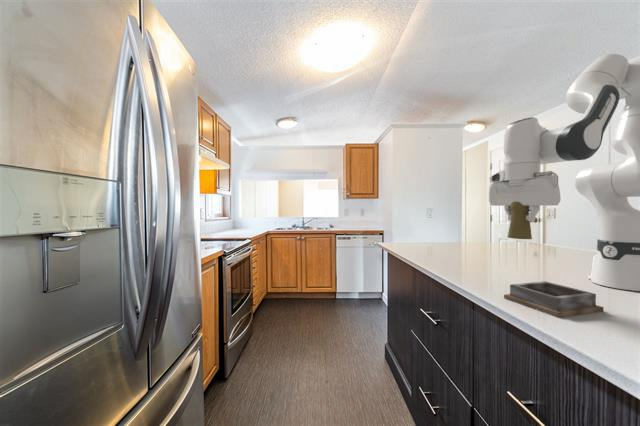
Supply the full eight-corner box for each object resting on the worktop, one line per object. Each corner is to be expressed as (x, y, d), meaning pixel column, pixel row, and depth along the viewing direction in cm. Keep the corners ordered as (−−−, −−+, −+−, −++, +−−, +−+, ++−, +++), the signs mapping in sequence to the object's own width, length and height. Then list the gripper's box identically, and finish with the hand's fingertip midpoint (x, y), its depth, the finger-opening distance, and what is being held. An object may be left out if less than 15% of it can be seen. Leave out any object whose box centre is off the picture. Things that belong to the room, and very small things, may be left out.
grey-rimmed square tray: (544, 293, 84) (544, 280, 84) (603, 311, 70) (603, 294, 70) (503, 298, 80) (504, 283, 80) (558, 317, 66) (558, 300, 66)
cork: (524, 237, 88) (525, 201, 88) (536, 239, 82) (538, 201, 82) (503, 236, 89) (504, 200, 89) (514, 238, 83) (515, 200, 83)
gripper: (567, 170, 76) (566, 222, 76) (501, 177, 96) (501, 219, 96) (548, 169, 74) (547, 223, 75) (485, 177, 94) (485, 219, 95)
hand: (521, 221), depth 86 cm, fingers closed on cork, 4 cm apart
